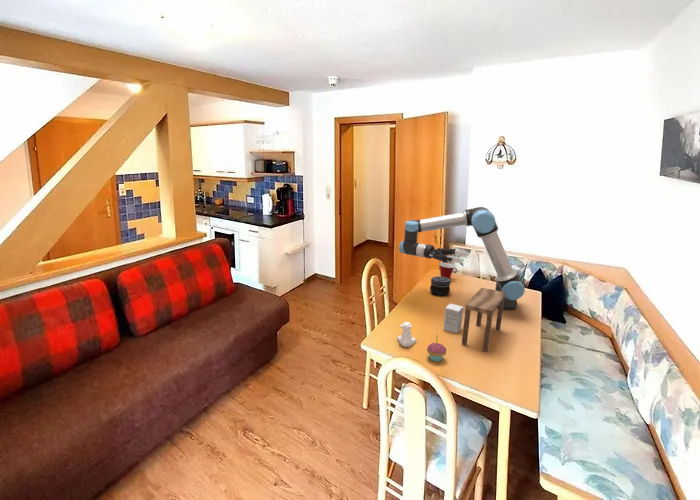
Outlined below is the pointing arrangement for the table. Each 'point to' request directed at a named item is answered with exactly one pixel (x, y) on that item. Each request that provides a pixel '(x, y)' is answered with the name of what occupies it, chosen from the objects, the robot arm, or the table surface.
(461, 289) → the table surface
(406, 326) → the seated beast figurine
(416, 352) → the table surface
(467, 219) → the robot arm
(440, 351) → the cupcake
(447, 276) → the plastic cup
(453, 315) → the supplement box
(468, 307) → the walnut stool
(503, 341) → the table surface
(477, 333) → the table surface
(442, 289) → the container
